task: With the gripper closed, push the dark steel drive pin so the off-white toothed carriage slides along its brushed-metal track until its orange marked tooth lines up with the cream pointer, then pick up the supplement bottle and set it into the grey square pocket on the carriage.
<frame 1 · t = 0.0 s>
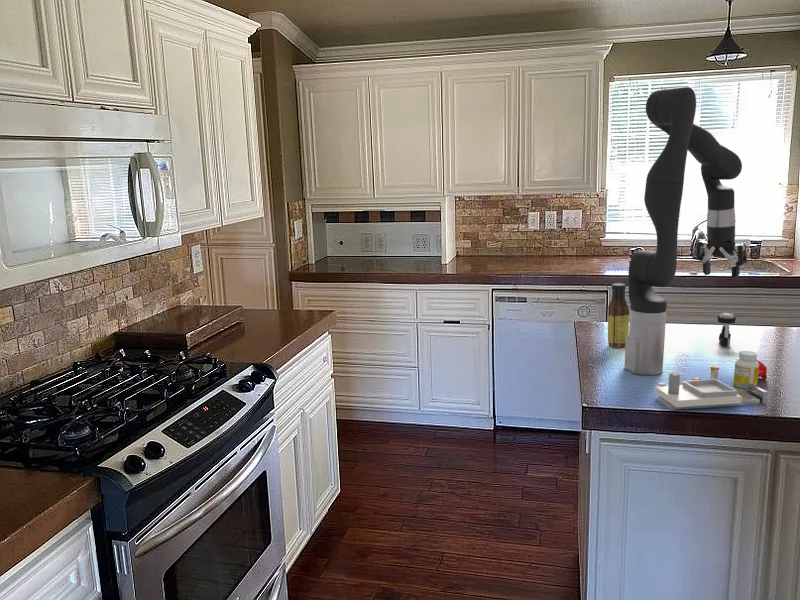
hand: (720, 276, 199), 22 cm above the countertop, tool pointing down, fingers open, 8 cm apart
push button: (723, 345, 207), on the countertop
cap: (753, 381, 173), on the countertop
toothed carriage: (696, 384, 157), point 4 cm above the countertop, slide at 6.0 cm
sauce bottle: (617, 347, 207), on the countertop
supplement bottle: (744, 390, 166), on the countertop
index track: (708, 402, 158), on the countertop
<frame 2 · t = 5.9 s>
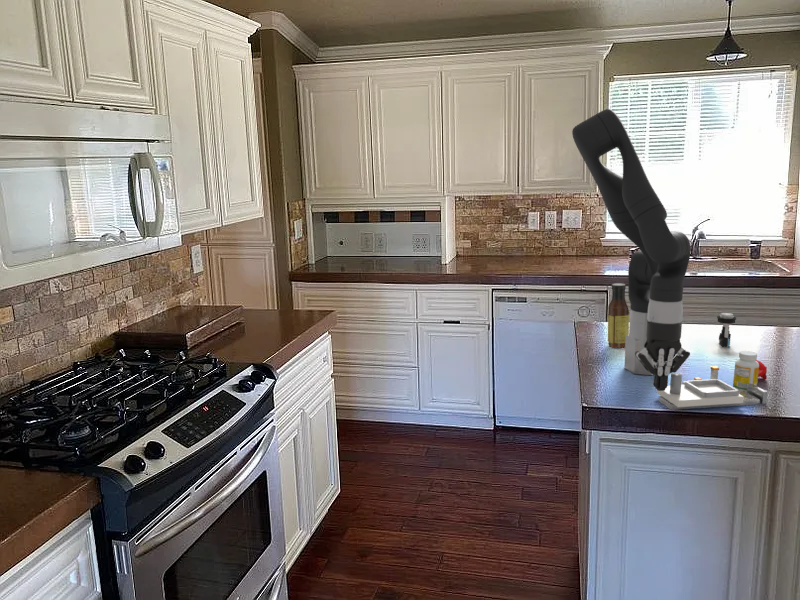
hand: (660, 389, 156), 4 cm above the countertop, tool pointing down, fingers closed
toothed carriage: (698, 384, 158), point 4 cm above the countertop, slide at 5.6 cm, touching gripper
everything else where it was.
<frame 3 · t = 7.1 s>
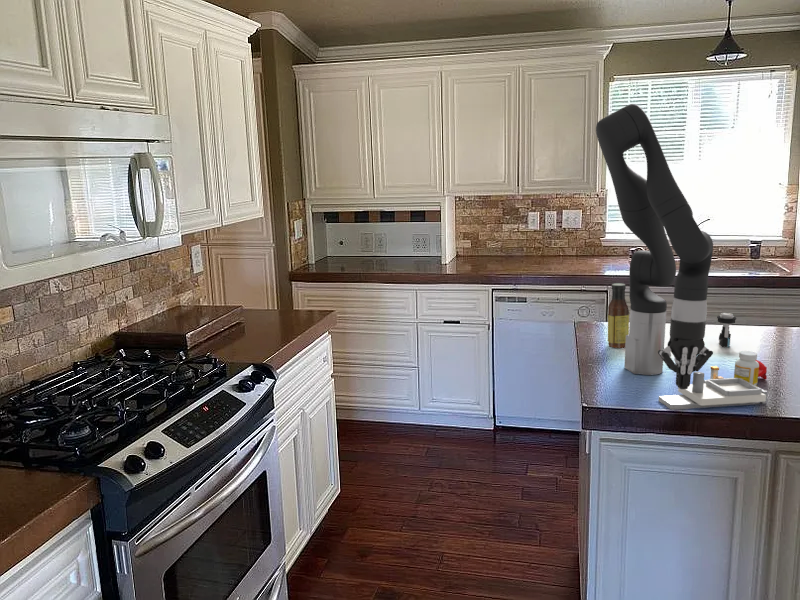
hand: (682, 388, 157), 4 cm above the countertop, tool pointing down, fingers closed
toothed carriage: (720, 383, 158), point 4 cm above the countertop, slide at 0.0 cm, touching gripper
everything else where it was.
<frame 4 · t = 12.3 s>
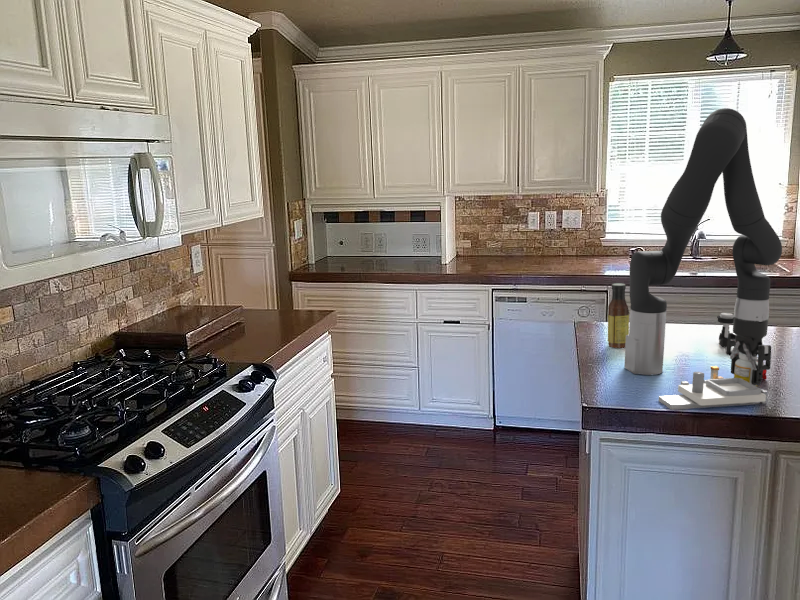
hand: (745, 379, 165), 3 cm above the countertop, tool pointing down, fingers open, 8 cm apart
toothed carriage: (720, 383, 158), point 4 cm above the countertop, slide at 0.0 cm
everything else where it was.
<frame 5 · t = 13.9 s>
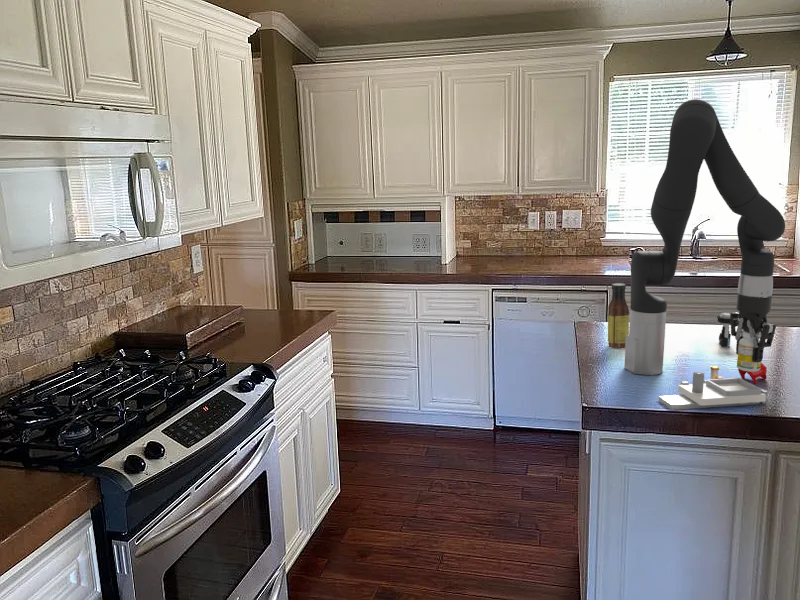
hand: (748, 357, 166), 8 cm above the countertop, tool pointing down, fingers closed on supplement bottle, 5 cm apart
supplement bottle: (748, 369, 167), point 5 cm above the countertop, touching gripper
everything else where it was.
when the fingers open (6 cm above the countertop, at t = 17.4 s): supplement bottle stays where it is, point 3 cm above the countertop.
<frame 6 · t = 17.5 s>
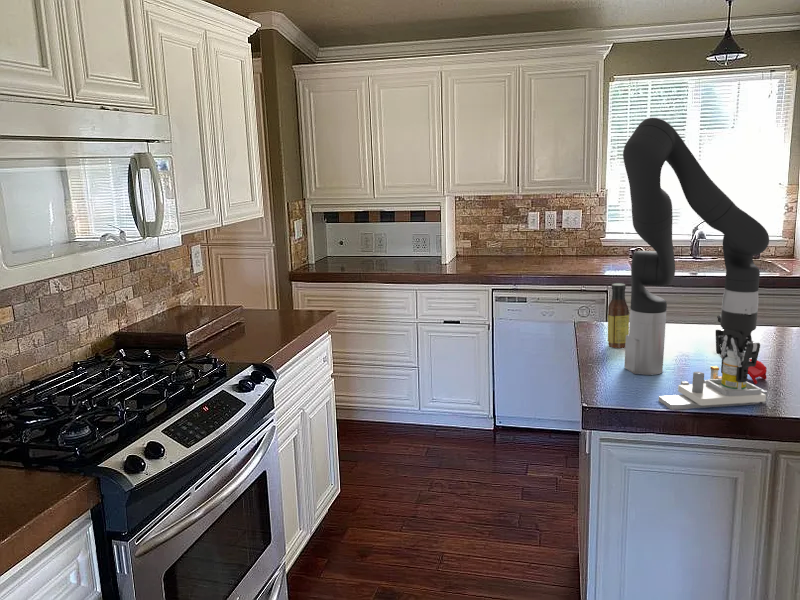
hand: (733, 377, 158), 6 cm above the countertop, tool pointing down, fingers open, 5 cm apart
supplement bottle: (733, 389, 158), point 3 cm above the countertop
everything else where it was.
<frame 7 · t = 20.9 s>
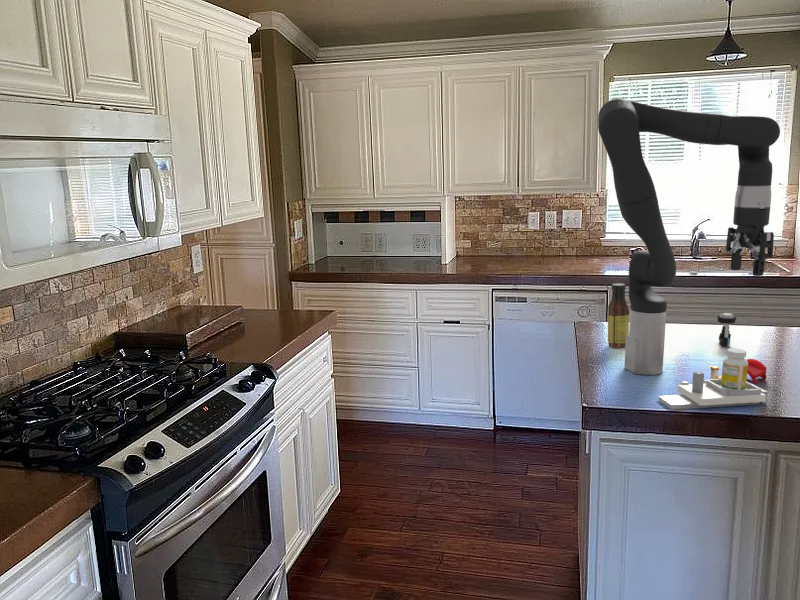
hand: (746, 272, 159), 30 cm above the countertop, tool pointing down, fingers open, 8 cm apart
toothed carriage: (719, 383, 158), point 4 cm above the countertop, slide at 0.0 cm, touching supplement bottle
supplement bottle: (733, 389, 158), point 3 cm above the countertop, touching toothed carriage
everything else where it was.
at the end: toothed carriage slide at 0.0 cm; supplement bottle 0.2 cm from the target spot on the toothed carriage, point 2.8 cm above the toothed carriage's base; supplement bottle tilted 0° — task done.
